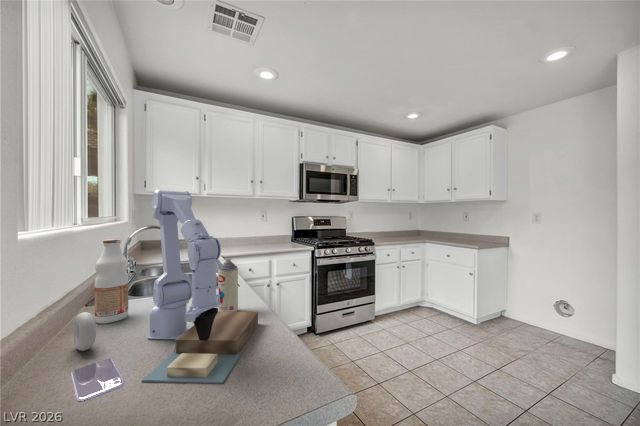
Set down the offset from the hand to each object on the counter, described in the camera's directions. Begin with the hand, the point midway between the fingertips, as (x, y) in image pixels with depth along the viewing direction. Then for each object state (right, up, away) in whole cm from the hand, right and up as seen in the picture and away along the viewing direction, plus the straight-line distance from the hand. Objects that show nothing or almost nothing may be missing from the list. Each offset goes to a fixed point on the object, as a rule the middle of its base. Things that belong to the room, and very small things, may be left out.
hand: (204, 339), depth 67 cm
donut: (-35, -5, +4) cm, 35 cm away
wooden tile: (0, -2, -6) cm, 6 cm away
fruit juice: (-44, -5, +26) cm, 51 cm away
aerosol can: (-5, -5, +31) cm, 32 cm away
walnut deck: (0, -5, +11) cm, 12 cm away
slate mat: (0, -5, -4) cm, 6 cm away
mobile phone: (-21, -5, -8) cm, 23 cm away
